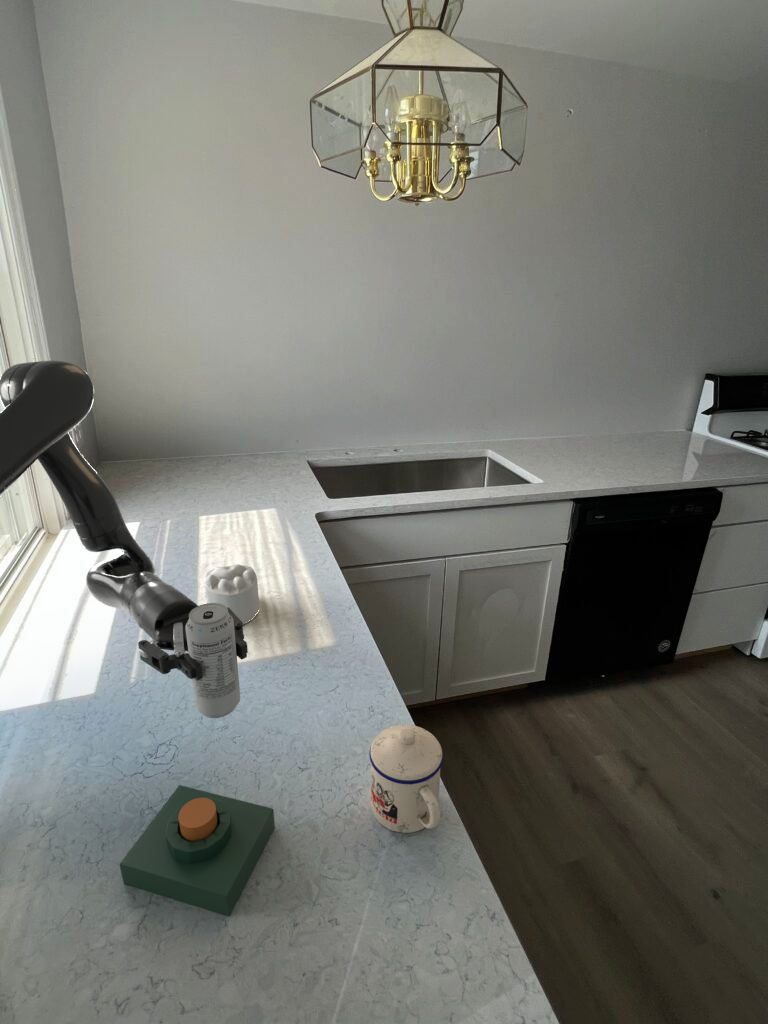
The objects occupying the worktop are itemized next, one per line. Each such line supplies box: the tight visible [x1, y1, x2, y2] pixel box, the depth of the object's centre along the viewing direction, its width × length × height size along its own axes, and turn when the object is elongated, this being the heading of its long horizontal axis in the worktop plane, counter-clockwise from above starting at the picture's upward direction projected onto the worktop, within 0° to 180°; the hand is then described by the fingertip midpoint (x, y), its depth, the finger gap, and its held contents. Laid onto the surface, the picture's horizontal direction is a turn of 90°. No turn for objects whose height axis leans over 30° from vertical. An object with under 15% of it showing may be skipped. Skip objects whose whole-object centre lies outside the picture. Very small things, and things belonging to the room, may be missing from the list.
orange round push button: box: [179, 798, 217, 841], centre depth 63 cm, size 4×4×2 cm
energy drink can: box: [186, 602, 241, 719], centre depth 75 cm, size 6×6×15 cm
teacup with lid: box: [368, 724, 444, 834], centre depth 68 cm, size 12×9×12 cm
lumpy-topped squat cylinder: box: [203, 564, 260, 625], centre depth 114 cm, size 10×13×9 cm
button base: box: [119, 784, 276, 918], centre depth 64 cm, size 13×11×5 cm
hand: (222, 662), depth 73 cm, fingers closed on energy drink can, 6 cm apart
